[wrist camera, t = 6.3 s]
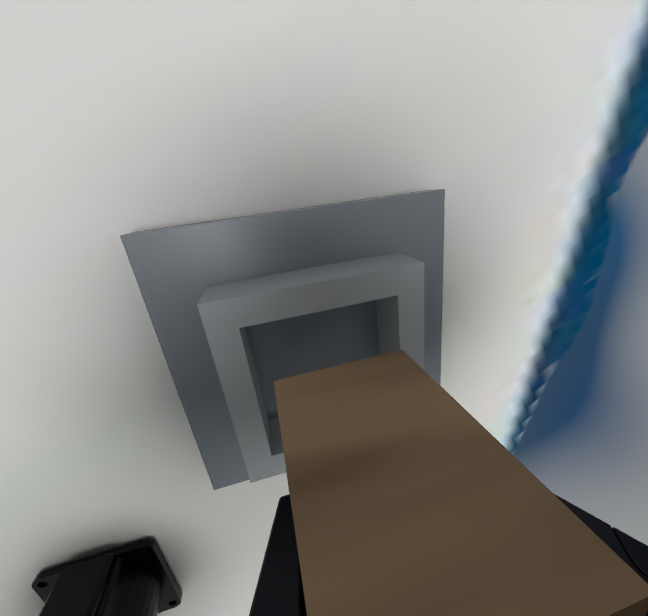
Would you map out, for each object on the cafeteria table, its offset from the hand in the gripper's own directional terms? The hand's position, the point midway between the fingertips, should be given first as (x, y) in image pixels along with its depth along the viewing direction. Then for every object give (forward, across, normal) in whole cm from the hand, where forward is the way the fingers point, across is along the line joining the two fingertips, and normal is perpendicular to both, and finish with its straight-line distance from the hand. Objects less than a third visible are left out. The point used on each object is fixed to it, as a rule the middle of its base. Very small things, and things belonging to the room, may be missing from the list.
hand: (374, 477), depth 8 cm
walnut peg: (+2, 0, 0) cm, 2 cm away
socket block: (+9, 0, 0) cm, 9 cm away
